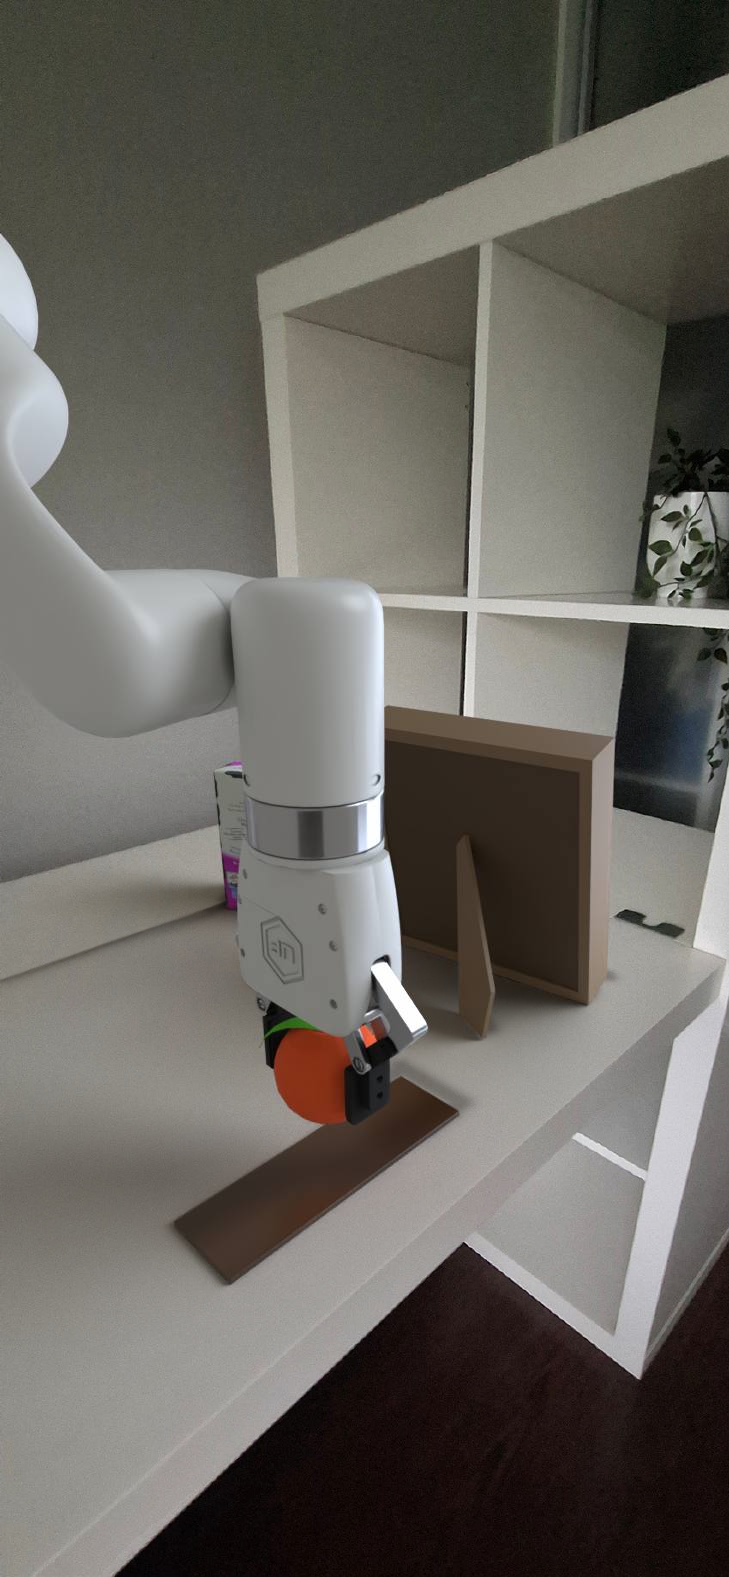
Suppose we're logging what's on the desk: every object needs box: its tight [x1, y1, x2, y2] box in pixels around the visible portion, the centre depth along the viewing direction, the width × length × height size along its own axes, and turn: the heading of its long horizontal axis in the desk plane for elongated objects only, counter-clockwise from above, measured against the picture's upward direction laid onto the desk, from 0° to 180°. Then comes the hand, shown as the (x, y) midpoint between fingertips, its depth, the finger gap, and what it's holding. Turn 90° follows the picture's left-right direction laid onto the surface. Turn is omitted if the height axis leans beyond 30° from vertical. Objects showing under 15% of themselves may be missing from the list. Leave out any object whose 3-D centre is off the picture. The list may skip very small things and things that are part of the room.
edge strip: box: [173, 1075, 460, 1285], centre depth 52 cm, size 6×20×1 cm, turn 137°
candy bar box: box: [212, 760, 247, 911], centre depth 87 cm, size 11×5×16 cm, turn 73°
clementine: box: [258, 1017, 376, 1125], centre depth 49 cm, size 8×7×7 cm
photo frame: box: [383, 704, 616, 1039], centre depth 69 cm, size 15×22×25 cm
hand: (326, 1082), depth 50 cm, fingers closed on clementine, 7 cm apart
